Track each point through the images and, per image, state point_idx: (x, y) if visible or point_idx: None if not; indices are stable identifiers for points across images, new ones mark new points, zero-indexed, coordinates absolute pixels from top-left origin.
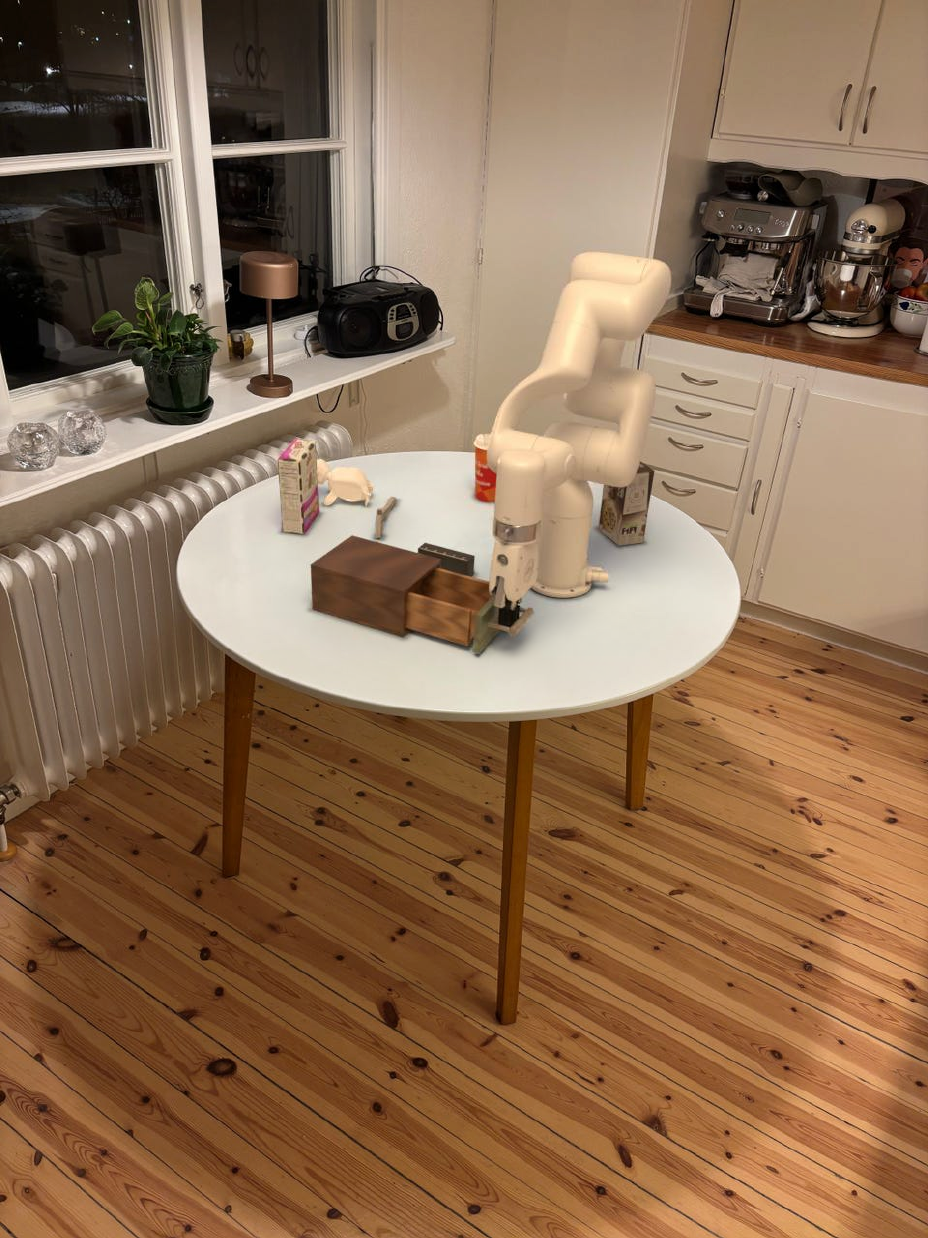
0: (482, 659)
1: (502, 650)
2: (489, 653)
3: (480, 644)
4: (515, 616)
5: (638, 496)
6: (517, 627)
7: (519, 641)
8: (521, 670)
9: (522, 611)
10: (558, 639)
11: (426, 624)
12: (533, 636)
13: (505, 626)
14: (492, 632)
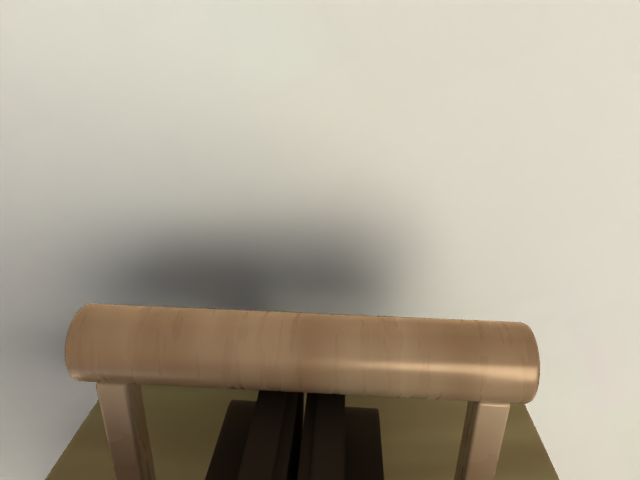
0: None
1: (377, 303)
2: None
3: (533, 440)
4: (342, 436)
5: None
6: (474, 354)
7: (239, 256)
8: (546, 134)
9: (137, 391)
10: (67, 45)
11: None
12: (140, 205)
13: (477, 435)
14: None
